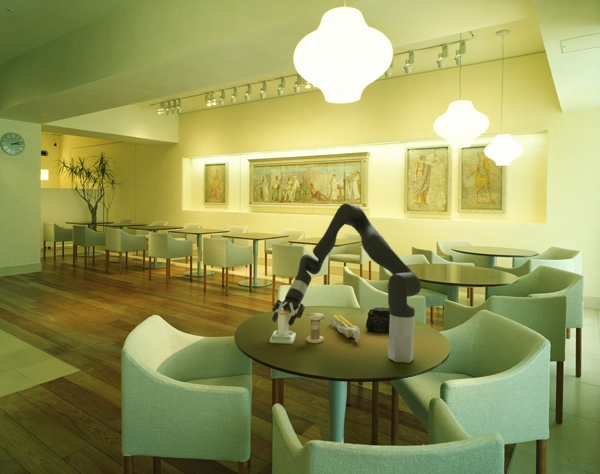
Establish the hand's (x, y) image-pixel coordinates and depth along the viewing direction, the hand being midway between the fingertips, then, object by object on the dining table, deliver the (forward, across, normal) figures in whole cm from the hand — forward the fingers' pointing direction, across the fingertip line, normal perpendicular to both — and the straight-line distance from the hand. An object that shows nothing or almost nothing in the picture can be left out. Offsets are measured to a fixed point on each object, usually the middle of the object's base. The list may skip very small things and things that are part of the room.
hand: (281, 322), depth 181 cm
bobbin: (0, +12, +11) cm, 16 cm away
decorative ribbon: (-12, +19, +23) cm, 32 cm away
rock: (-24, +31, +35) cm, 53 cm away
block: (+3, 0, +6) cm, 7 cm away
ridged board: (+4, 0, +6) cm, 7 cm away
